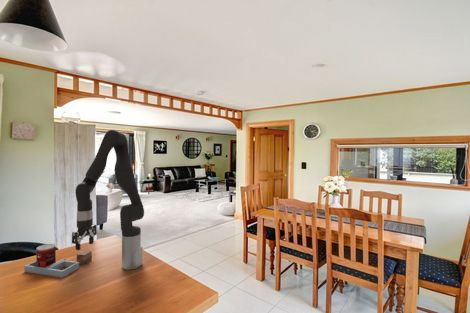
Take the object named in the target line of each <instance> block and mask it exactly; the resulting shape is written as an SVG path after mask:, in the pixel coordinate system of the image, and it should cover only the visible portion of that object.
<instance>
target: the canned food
mask: <svg viewBox="0 0 470 313" xmlns="http://www.w3.org/2000/svg"><path fill="white" fill-rule="evenodd" d="M35 250H36V251H35V258H36V261H37V267H43V268H46V267H48V266H50V265H52V264H54V263H56V262H57V261H56V259H57V258H56V256H57V255H56V252H57V251H56V244H55V243H45V244H42V245H39V246H37V247H36V249H35Z"/></svg>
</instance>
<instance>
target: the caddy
mask: <svg viewBox="0 0 470 313" xmlns="http://www.w3.org/2000/svg"><path fill="white" fill-rule="evenodd" d="M64 267H65V269H62V268H64ZM79 268H80V264H79V262H77V261H72V260H67V258H66V257H65V258H62V259H60V260H58V261H56V263H54V264H52V265H50V266H48V267H46V268H43V267H37V260H34V261H32V262H30V263H28V264H25V265H24V272H25V273H31V274H37V275H44V276H50V277H57V278H64V277H66V276H68V275H70V274H71V273H73V272H75V271H76V270H78V269H79ZM61 269H62V270H61Z"/></svg>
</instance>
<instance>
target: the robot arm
mask: <svg viewBox="0 0 470 313" xmlns="http://www.w3.org/2000/svg"><path fill="white" fill-rule="evenodd" d="M112 149H113V150H114V153H115V156H116V157H115V159H116V160H115V165H114V176H115V181H116V184H117V185H118V186H119V187H120V188H121V189H122V190H123V191H124V192H125V193H126V194H127V196H128V198H129V201H130V203H129V204H125V205H122V207H121V209H120V212H119V217H120V218H119V219H120V231H121V267H122V270H127V271H129V270H137V269H138V268H139V267H140V266H142V265H143V246H142V245H141V244H142V243H141V242H142V241H141V238H142V236H141V235H142V234H141V232H142V231H141V227H140V226H137V225H133V222H136V221H140V220H142V219H143V218H144V216H145V208H144V205H143V202H142V199H141V197H140V193H139V189H138V187H137V182H136V179H135V174H134V169H133V166H132V162H131V158H130V152H129V146H128V139H127V136H126V135H125V134H124V133H123V132H121V131H118V130H116V129H109V130H107V131H106V132H105V134H104V136H103V138H102V140H101V143H100V145H99V148H98V151H97V153H96V155H95V157H94V159H93V161H92V163H91V165H89V168H88V169H87V171H86V173H85V177H84V178H83V180H82V181H81V182H80V183H78V184H77V185H76V187H75V197H76V201H77V202H76V203H77V205H76V206H77V208H76V209H77V211H76V228H77V231H72V233H71V244H73V245H75V250H76V251H81V242H82V240H84V238H85V237H87V236H88V243H89V245H92V244H94V238H95V236H97V234H98V233H97V231H98V230H97V224H93V222H94V221H93V219H94V217H93V216H94V212H93V200H92V199H91V193H92V192H93V191H94V189H95V187H96V186H97V183H98V181H99V180H100V178H101V176H102V175H103V173H104V171H105V170H106V166H107V161H108V158H109V154H110V153H111V151H112Z"/></svg>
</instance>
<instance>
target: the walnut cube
mask: <svg viewBox="0 0 470 313" xmlns="http://www.w3.org/2000/svg"><path fill="white" fill-rule="evenodd" d="M92 254H93V252H92V251H91V250H82V251H80V252H78V253H77V254H76V262H79V265H80V264H82V265H86V264H88V263H89V262H90V261H92V258H93V256H92Z"/></svg>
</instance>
